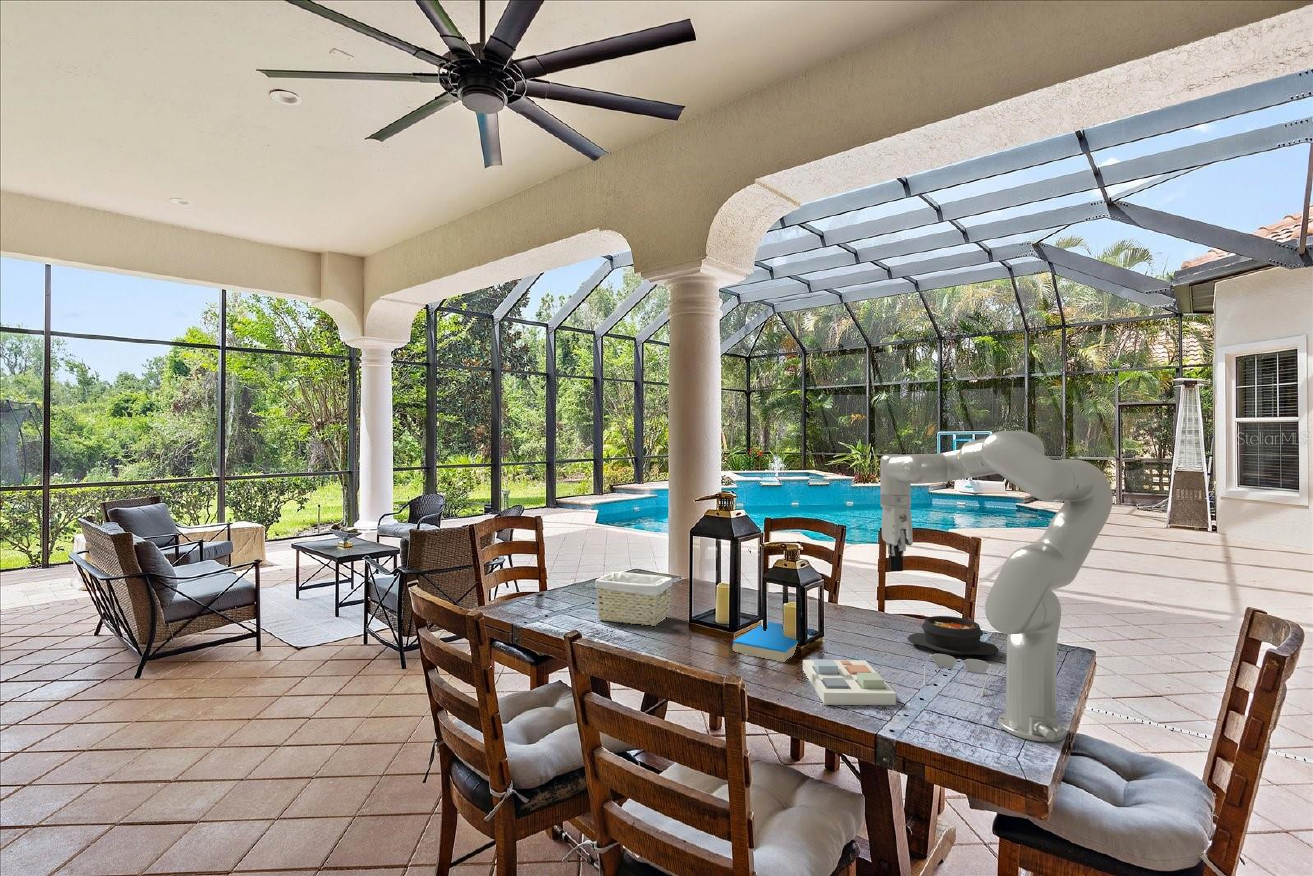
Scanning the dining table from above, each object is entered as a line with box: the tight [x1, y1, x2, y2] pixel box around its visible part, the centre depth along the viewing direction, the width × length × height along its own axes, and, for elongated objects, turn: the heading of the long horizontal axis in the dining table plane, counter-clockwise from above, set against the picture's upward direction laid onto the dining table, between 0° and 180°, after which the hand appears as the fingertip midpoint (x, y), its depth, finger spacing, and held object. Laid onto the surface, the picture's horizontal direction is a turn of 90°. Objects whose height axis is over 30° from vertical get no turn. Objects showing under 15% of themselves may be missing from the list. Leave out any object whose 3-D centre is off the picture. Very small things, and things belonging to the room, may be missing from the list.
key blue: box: [813, 658, 838, 675], centre depth 167 cm, size 5×5×2 cm
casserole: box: [907, 615, 1000, 656], centre depth 194 cm, size 25×19×8 cm
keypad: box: [802, 659, 897, 706], centre depth 164 cm, size 23×17×3 cm
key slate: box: [823, 678, 849, 689], centre depth 158 cm, size 5×5×2 cm
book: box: [730, 621, 816, 663], centre depth 196 cm, size 17×4×25 cm
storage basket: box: [594, 571, 673, 627], centre depth 226 cm, size 24×16×15 cm
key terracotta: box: [846, 665, 871, 675], centre depth 167 cm, size 5×5×2 cm
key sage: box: [857, 672, 885, 689], centre depth 158 cm, size 5×5×2 cm
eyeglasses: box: [922, 653, 992, 697], centre depth 169 cm, size 15×18×4 cm
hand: (895, 570), depth 170 cm, fingers closed
